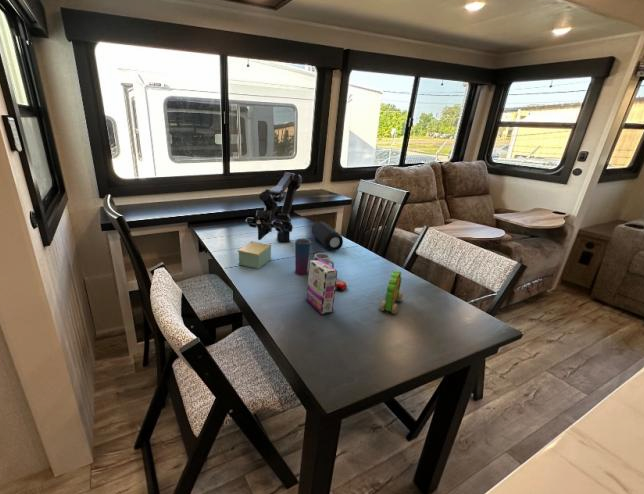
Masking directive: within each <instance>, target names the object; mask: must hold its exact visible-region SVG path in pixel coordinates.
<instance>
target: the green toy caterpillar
mask: <svg viewBox="0 0 644 494" xmlns="http://www.w3.org/2000/svg"><path fill="white" fill-rule="evenodd" d="M402 278H403V277H402V272H401V271H400V270H396V269H393V271H392V273H391V276H390V278H389V281H388V285H387V289H386V294H385V300H382V301H381V304H380V307H379V308H380V311H382V312H384V311H387V312H391V314H393V315H396V313H397V310H398V304H397V303H395V302H396V300H397V302H401V301H402V299H403V295H404V293H403V292H402V291H400V289H401V284H402Z"/></svg>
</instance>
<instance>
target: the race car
mask: <svg viewBox="0 0 644 494" xmlns="http://www.w3.org/2000/svg"><path fill="white" fill-rule="evenodd" d="M346 289H348V285H347V283H346V282H345V281H344V280H341V279H338V278H337V279H336V287H335V290H337V291H338V292H341V291H345V290H346Z"/></svg>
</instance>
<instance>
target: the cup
mask: <svg viewBox="0 0 644 494" xmlns="http://www.w3.org/2000/svg"><path fill="white" fill-rule="evenodd" d="M311 244H312V241H311V239H308V238H297V239H295V241H294V250H295V252H294V253H295V254H294V256H295V257H294V261H295V266H294V267H295V274H296V275H300V276H304V275H307V273H308V268H309V261H310V260H309V259H310V252H311Z"/></svg>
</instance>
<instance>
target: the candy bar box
mask: <svg viewBox="0 0 644 494" xmlns="http://www.w3.org/2000/svg"><path fill="white" fill-rule="evenodd" d="M337 277H338V270H337V269H335V267H334V268H333V267H332V265H330V264H329V265H328V264H327V263H325V262H324V261H323V260H321V259H318V260H314V259H312V260H309V263H308V277H307V278H308V279H307V289H306V290H307V292H306V301H307V302H309V304H311V306H312V307H313V308H314V309H316V311H318V312H319V313H320V315H325V314H329V313H333V311H334V302H335V295H336V289H335V287H336V279H338V278H337Z"/></svg>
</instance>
